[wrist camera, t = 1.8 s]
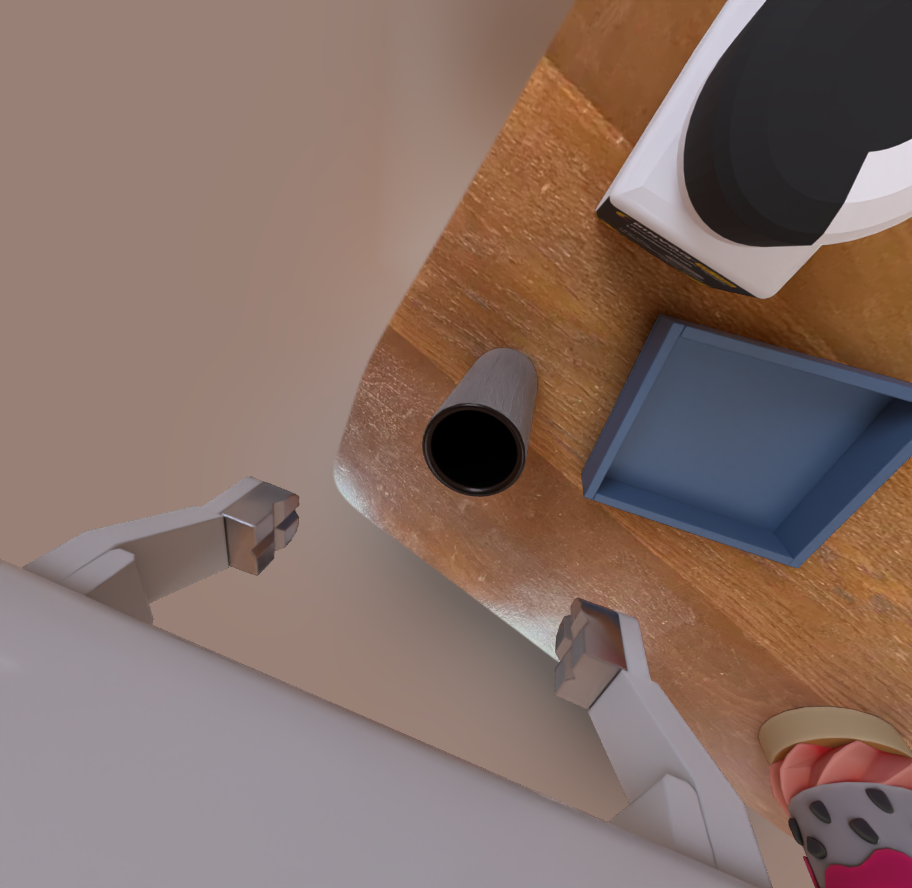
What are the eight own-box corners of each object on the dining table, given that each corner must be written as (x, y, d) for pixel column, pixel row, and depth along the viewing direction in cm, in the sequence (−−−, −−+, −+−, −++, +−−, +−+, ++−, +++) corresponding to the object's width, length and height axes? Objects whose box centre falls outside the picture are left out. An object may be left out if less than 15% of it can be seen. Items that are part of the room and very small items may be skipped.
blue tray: (580, 473, 26) (583, 497, 24) (659, 313, 21) (673, 321, 18) (772, 536, 25) (797, 569, 22) (911, 383, 19) (966, 402, 17)
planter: (548, 358, 23) (541, 423, 14) (525, 421, 25) (507, 511, 17) (479, 338, 24) (431, 389, 15) (463, 401, 26) (413, 479, 17)
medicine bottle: (591, 216, 19) (628, 173, 9) (698, 43, 16) (961, -353, 6) (704, 288, 20) (866, 326, 9) (835, 133, 16) (1336, -84, 6)
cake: (725, 726, 34) (827, 1017, 21) (849, 687, 29) (1087, 1042, 16) (807, 785, 35) (953, 1098, 22) (942, 758, 30) (1239, 1148, 17)
